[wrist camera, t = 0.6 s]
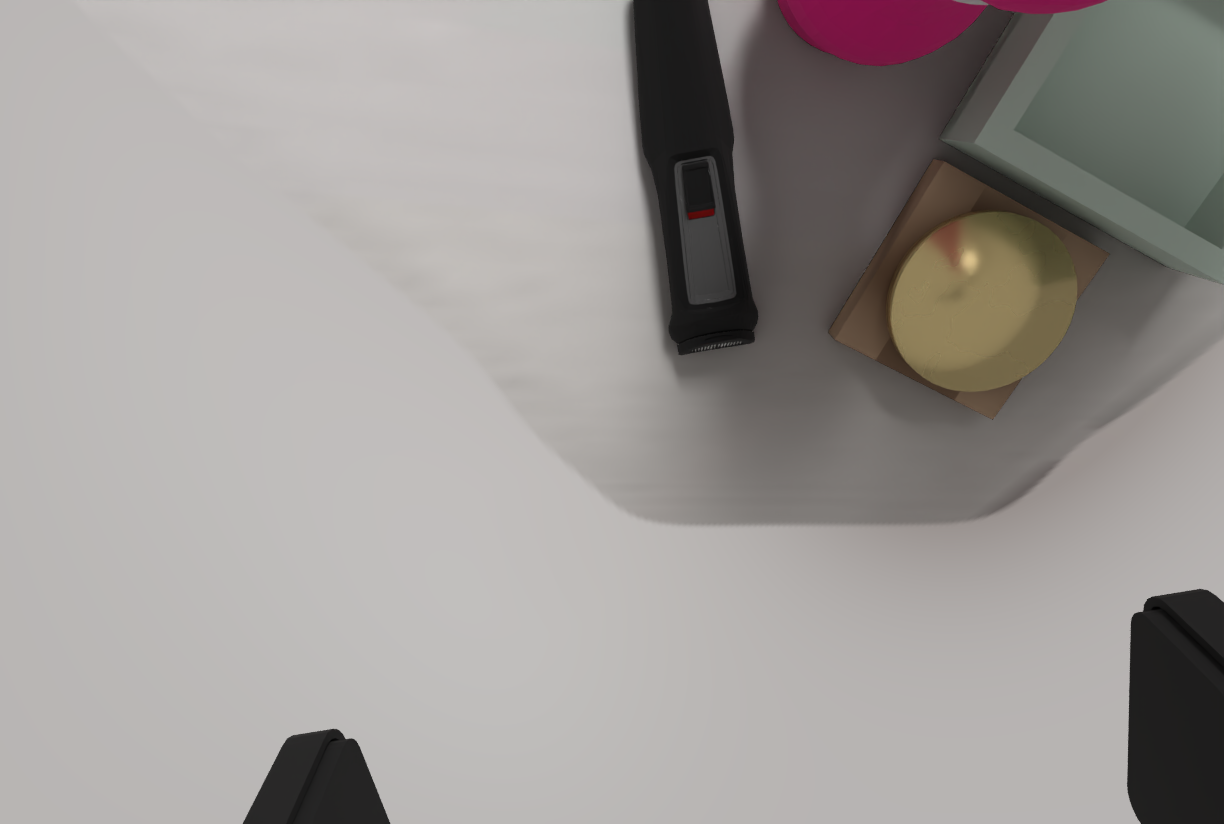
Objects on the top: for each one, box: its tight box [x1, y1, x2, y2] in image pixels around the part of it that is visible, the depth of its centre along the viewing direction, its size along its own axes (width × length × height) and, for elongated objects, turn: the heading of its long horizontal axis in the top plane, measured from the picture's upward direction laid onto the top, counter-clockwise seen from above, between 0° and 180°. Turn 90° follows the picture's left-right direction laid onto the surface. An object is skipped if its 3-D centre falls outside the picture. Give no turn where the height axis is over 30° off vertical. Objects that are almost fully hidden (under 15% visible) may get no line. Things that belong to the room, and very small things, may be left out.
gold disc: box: [886, 210, 1077, 392], centre depth 34 cm, size 7×7×2 cm
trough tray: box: [939, 0, 1224, 285], centre depth 31 cm, size 12×12×4 cm
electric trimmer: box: [634, 0, 758, 355], centre depth 33 cm, size 4×16×3 cm, turn 9°
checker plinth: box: [828, 159, 1109, 420], centre depth 35 cm, size 8×8×1 cm
